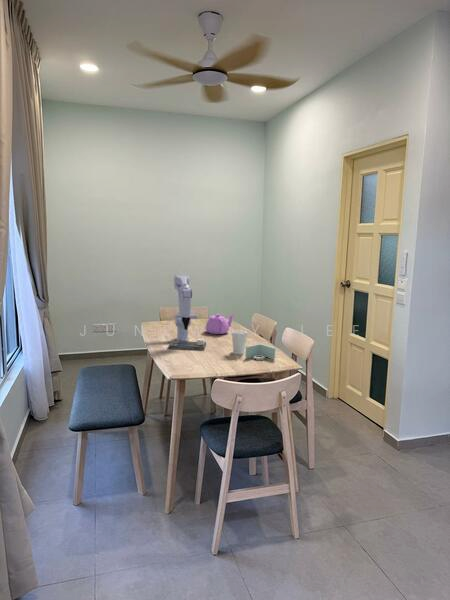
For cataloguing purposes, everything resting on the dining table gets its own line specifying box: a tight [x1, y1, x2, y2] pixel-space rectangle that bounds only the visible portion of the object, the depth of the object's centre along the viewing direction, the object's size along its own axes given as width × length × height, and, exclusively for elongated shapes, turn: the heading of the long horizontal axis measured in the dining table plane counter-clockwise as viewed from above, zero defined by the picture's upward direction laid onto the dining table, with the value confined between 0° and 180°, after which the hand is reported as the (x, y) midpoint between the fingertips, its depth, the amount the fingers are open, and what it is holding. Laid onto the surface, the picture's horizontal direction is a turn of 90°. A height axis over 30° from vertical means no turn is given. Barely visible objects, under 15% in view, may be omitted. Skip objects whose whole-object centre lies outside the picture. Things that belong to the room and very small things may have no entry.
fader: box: [196, 338, 205, 345], centre depth 257 cm, size 5×4×3 cm
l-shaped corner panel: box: [245, 343, 276, 361], centre depth 237 cm, size 12×12×8 cm
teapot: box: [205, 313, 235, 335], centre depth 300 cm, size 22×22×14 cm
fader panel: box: [168, 340, 207, 351], centre depth 258 cm, size 12×22×2 cm, turn 88°
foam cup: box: [231, 329, 248, 355], centre depth 248 cm, size 10×9×13 cm
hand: (185, 329), depth 260 cm, fingers closed
